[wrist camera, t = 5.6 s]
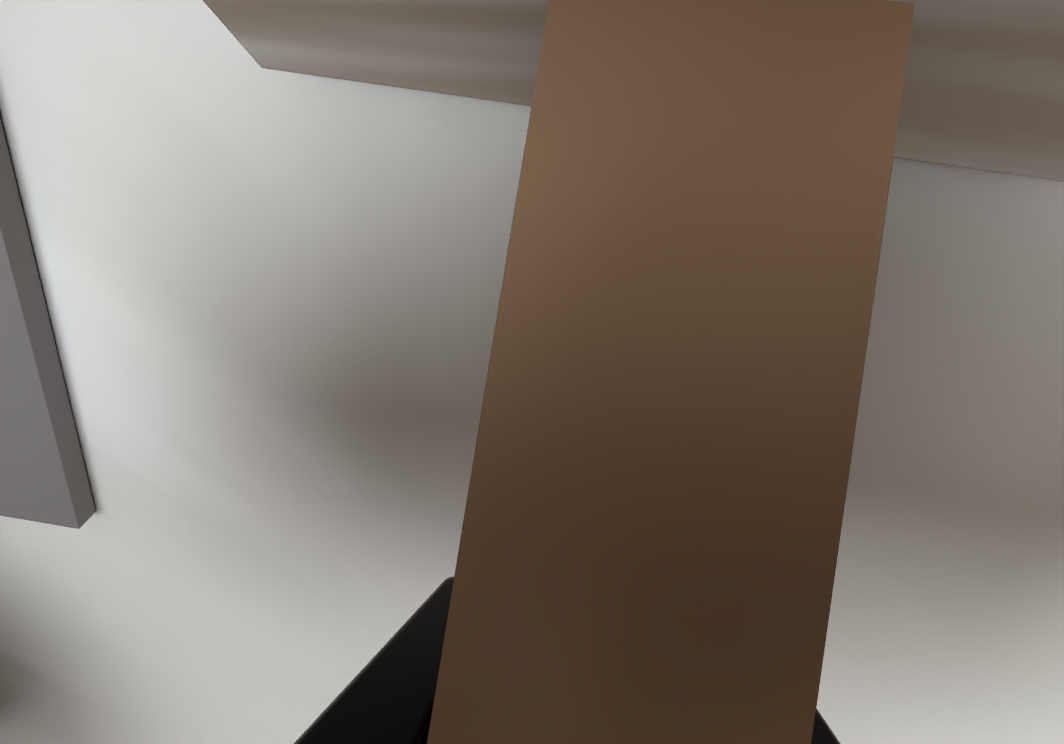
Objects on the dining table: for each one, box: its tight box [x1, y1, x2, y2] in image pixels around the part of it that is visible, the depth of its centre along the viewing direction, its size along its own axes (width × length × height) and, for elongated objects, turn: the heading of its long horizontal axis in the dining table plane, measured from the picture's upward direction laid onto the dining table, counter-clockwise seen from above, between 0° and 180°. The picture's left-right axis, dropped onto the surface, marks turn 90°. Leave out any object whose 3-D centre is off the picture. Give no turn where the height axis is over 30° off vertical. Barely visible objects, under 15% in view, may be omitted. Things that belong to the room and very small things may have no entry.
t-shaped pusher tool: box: [203, 0, 1064, 744], centre depth 8 cm, size 12×12×6 cm
